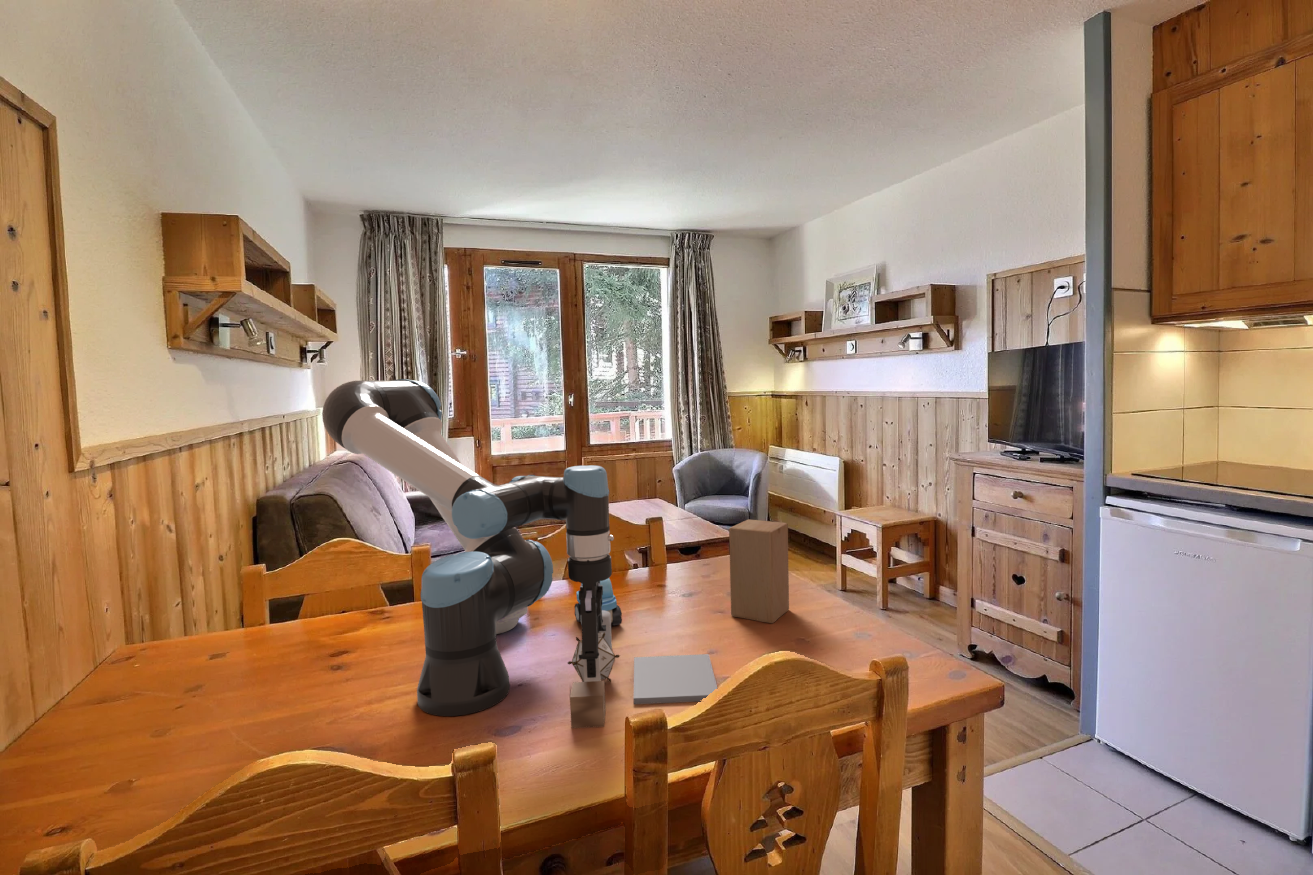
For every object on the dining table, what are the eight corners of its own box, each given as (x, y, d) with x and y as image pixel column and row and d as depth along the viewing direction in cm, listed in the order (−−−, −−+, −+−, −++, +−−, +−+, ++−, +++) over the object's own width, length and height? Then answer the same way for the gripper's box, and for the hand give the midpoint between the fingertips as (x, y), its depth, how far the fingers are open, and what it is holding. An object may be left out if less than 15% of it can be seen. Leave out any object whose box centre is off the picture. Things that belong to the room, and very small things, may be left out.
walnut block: (571, 728, 100) (569, 697, 100) (574, 712, 105) (572, 682, 105) (604, 726, 100) (602, 695, 100) (605, 710, 105) (604, 680, 105)
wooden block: (789, 609, 148) (788, 522, 146) (772, 624, 140) (771, 531, 138) (749, 602, 153) (747, 518, 152) (730, 616, 145) (728, 527, 143)
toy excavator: (603, 604, 156) (600, 533, 154) (624, 628, 140) (621, 549, 139) (567, 609, 153) (564, 537, 151) (585, 634, 137) (582, 554, 136)
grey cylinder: (585, 654, 127) (583, 619, 127) (587, 644, 132) (586, 610, 132) (611, 653, 127) (609, 618, 127) (612, 643, 132) (611, 609, 132)
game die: (602, 705, 114) (609, 675, 108) (558, 685, 116) (562, 655, 109) (621, 663, 121) (629, 632, 115) (579, 644, 123) (584, 614, 116)
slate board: (633, 704, 107) (633, 698, 107) (634, 662, 123) (634, 657, 123) (719, 700, 107) (719, 694, 107) (708, 659, 123) (708, 653, 123)
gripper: (608, 572, 103) (613, 709, 105) (613, 539, 125) (618, 653, 127) (560, 574, 103) (566, 712, 105) (573, 540, 125) (579, 655, 127)
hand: (594, 679), depth 116 cm, fingers open, 9 cm apart
